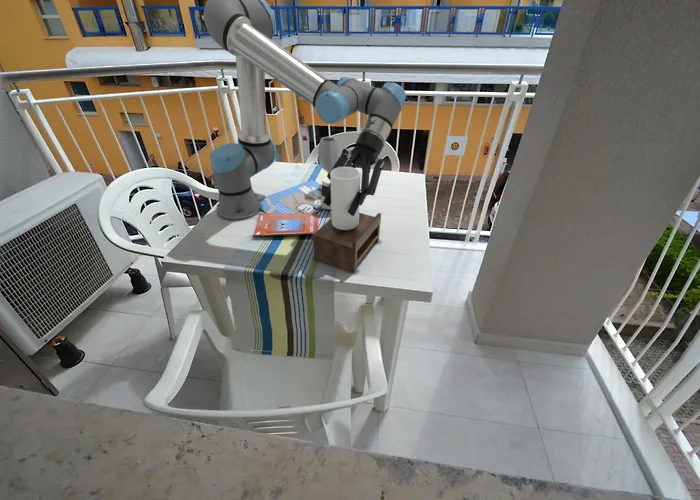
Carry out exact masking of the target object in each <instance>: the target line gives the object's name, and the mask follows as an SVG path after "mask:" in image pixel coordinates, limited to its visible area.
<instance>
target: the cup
mask: <svg viewBox="0 0 700 500" xmlns="http://www.w3.org/2000/svg"><path fill="white" fill-rule="evenodd" d="M330 181H331V212H330V213H331V215H330V217H331V218H332V225H333V226H334V227H335V228H337V229H341V230H350V229H354V228H355V227H357V226H358V224H359V213H360V206H359V207H358V209H357V211H356V213H355V215H354V216H352V215H350V214H349V213H348V210H349V208H350V206H351V204H352V202H353V200H354V198H355V196H356V194H357V192H358V191H359V192H361V191H360V190H361V171H360V170H359V168H357V167H356V168H352V167H344V166H343V167H338V168H335V169H333V170H332V171H331V172H330Z"/></svg>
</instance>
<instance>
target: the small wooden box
mask: <svg viewBox="0 0 700 500" xmlns="http://www.w3.org/2000/svg"><path fill="white" fill-rule="evenodd" d="M381 220H382V213H381V212H377V214H376V215H375V216H373V215H370V214H367V213H363V212H359V224H358V226H357V227H355V228H354V229H350V230H341V229H337V228H335V227H334V226H333V225H332V217H330V218H329V219H328V220H327V221H325V223H324V224H323V225H322V226H320V227H319V228H318V229H317V230H316V232H314V233H313V234H312V245H313V246H312V247H313V257H314V258H313V259H314V260H316V261H319V262H322V263H325V264H327V265H331V266H332V267H333V266H334V267H336V268H339V269H342V270H345V271H347V272H351V273H353V274H356V273H357V270H358V269H357V268H358V267H357V266H358V263H359V262H360V261H361V260H362V259H363V257H364V256H365V255H366V253H367V252H368V251H369V250H370V248H371V247H372V246H373V244H374V243H375V244H378V243H379V242H380V234H381Z"/></svg>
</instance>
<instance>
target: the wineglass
mask: <svg viewBox="0 0 700 500" xmlns="http://www.w3.org/2000/svg"><path fill="white" fill-rule="evenodd" d="M317 155H318V156H317V157H318V158H317V159H318V163H319V166H320V168H321V169H323V170H324V171H325V172H327V175H328V174H329V172H330V171H331V169H332V168H333V166H334V165H335V163H336V162H337V160H338V159H339V157H340V149H339V143H338V140H337V138H336V137H333V136H324V137H321V138H320V140H319V144H318V152H317ZM321 187H322V183H321V184H320V186H319V187H318V189H319V190H321Z"/></svg>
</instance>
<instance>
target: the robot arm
mask: <svg viewBox="0 0 700 500" xmlns="http://www.w3.org/2000/svg"><path fill="white" fill-rule="evenodd" d="M273 11H274V10H272V8H271V6H270V5H269V3H268V2H267V1H266V0H207V1H206V3H205V5H204V8H203V21H204V26H205V29H206V30H207V32H208V34H209V35H210V37H211V38H212V40H214V42H215V43H216V44H218V45H219V47H221V48H222V49H224V50H225V51H226V52H228V53H229V54H231V55H232V56H235V64H236V65H235V66H236V77H237V78H236V79H237V89H238V102H239V114H240V128H241V130H240V131H239V132H238V133H237V143H235V142H231V143H230V142H229V143H226V144H221V145H219V146H217V147H215V148H213V149H212V151H211V152H210V155H209V160H210V168H211V170H212V173H213V177H214V179H215V184H216V187H217V190H218V191H217V192H218V204H216V207H217V211H218V214H219V216H220V217H222V218H224V219H226V220H232V221H237V220H244V219H247V218H251V217H253V216H255V215H256V214H258V213H259V211H261V203H260V200H259V198H258V195H257V194H256V193H255V191H254V189H253V185H252V182H251V178H253V177H254V176H255V175H257V174H259V173H260V172H262V171H263V170H266V169H268V168H270V167H271V165H273V164H274V163H275V161H276V159H277V154H278V153H277V147H276V145H275V144H274V140H272V137H271V135H270V134H269V133H268V131H267V119H266V117H267V114H266V113H267V112H266V109H267V108H266V76H265V75H268V76H269V77H271V78H272V79H274V80H275V81H276V82H278V83H280V84H281V85H282V86H284V87H285V88H287V89H289V91H292V93H294V94H295V95H297V96H298V97H299V98H301V99H302V100H304V101H306V102H307V103H308V104H310V105H311V106H312V107H314V108H315V111H316V114H317V116H318V117H319V119H320V120H321V121H322V122H324V123H326V124H328V125H333V124H337V123H340V122H342V121H344V120H345V119H346V118H347V117H349V116H351V115H354V114H355V113H356V112H358V113H362V114H364V115H367V116H368V117H367V118H366V121H365V123H364V125H363V127H362V130H361V132H360V133H359V135H358V137H357V139H356V141H355V146H354V148H353V149H351V150H349V149H348V150H347V149H346V148H343V149H342V150H341V154H340V155H339V159H338V160H337V162H336V163H335V165H334V166H333V168H332V169H331V171H332V170H333V169H335V168H338V167H352V168H356V169H361V171H362V172H361V182H360V192H359V191H358V192H357V194H356V196H355V198H354V200H353V202H352V204H351V206H350V208H349V210H348V213H349V214H350V215H352V216H354V215H355V213H356V211H357V209H358V207H359V208H360V207H361V206H362V205H363V204H364V202H365V200H366V197H367V196H375V194H376V191H377V187H378V183H379V181H380V177H381V173H382V171H383V169H384V168H385V166H386V163H385V162H384V160H383V158H379V157H378V156H380V155H381V152H382V150H383V148H384V146H385V143H386V142H387V140H388V137H389V136H390V134H391V132H392V130H393V127H394V125H395V123H396V121H397V119H398V117H399V115H400V113H401V112H402V108H403V106H404V103H405V101H406V99H407V94H406V93H407V92H406V91H405V89H404V88H403V87H402V86H401V85H399V84H398V83H396V82H393V81H392V82H390V81H389V82H386V83H384V84H383V86H382V87H381V88H380V87H376V86H373V85H370V84H368V83H366V82H363V81H360V80H357V79H356V78H354V77H350V76H349V77H348V76H342V77H340V78H339V80H338V81H337V82H336V83H334V82H333V81H331V80H330V79H328V77H325V76H324V75H322V74H321V73H319V72H318V71H317V70H315V69H314V68H312V67H311V66H309V65H308V64H307V63H305V62H304V61H302V60H301V59H300V58H298V57H297V56H295V55H294V54H293V53H291V52H290V51H288V50H287V49H286V48H284V47H283V46H281V45H280V44H279V43H277V42H276V41H274V40H273V38H274V37H275V35H276V30H277V23H276V22H277V21H276V16H275V14H274V12H273ZM373 165H374V166H373ZM372 166H373V169H372V174H371V168H372ZM331 171H330V172H331ZM330 172H329V174H328V173H327V175H326V176H327V178H328V179H329V180H330ZM370 174H371V177H370ZM327 192H328V193H327V195H326V197H325V199H324V201H323V203H324V204H326V205H327V206H330V204H331V182H330V184H329V186H328V189H327Z"/></svg>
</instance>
